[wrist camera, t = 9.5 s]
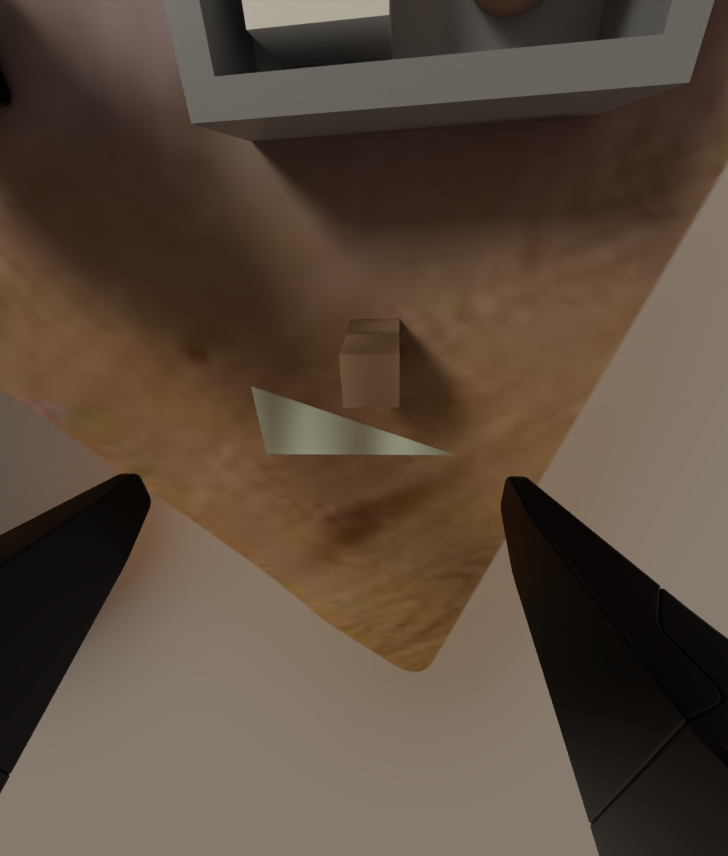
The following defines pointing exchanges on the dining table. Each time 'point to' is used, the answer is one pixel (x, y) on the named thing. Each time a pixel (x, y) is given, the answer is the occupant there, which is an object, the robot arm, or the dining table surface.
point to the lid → (344, 402)
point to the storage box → (423, 61)
